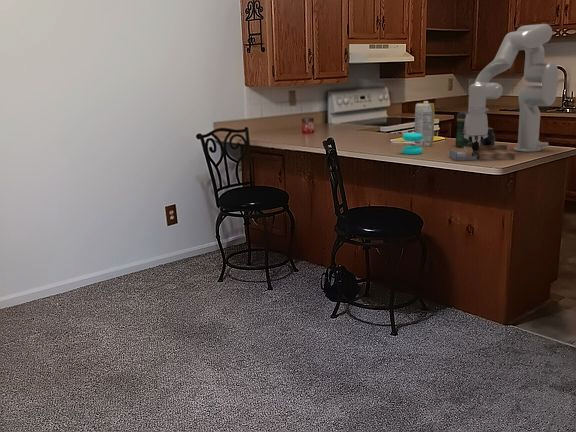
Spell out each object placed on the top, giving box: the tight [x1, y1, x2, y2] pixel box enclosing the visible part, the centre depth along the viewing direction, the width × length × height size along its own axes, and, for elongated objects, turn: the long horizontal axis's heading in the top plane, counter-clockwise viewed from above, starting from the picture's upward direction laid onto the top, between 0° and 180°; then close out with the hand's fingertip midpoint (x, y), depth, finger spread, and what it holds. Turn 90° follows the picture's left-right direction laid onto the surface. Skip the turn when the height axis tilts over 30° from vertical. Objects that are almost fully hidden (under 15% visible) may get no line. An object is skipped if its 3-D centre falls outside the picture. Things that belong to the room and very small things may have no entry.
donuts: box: [401, 132, 423, 156], centre depth 296 cm, size 10×10×10 cm
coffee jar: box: [455, 110, 472, 148], centre depth 310 cm, size 10×8×19 cm
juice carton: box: [414, 100, 435, 147], centre depth 319 cm, size 9×8×24 cm
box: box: [449, 148, 478, 162], centre depth 276 cm, size 10×12×4 cm
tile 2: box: [463, 146, 472, 156], centre depth 276 cm, size 5×5×2 cm
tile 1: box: [456, 151, 466, 157], centre depth 276 cm, size 5×5×2 cm
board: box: [472, 144, 516, 161], centre depth 275 cm, size 16×12×5 cm
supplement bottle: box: [479, 127, 496, 146], centre depth 290 cm, size 7×7×12 cm
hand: (475, 150), depth 275 cm, fingers closed
